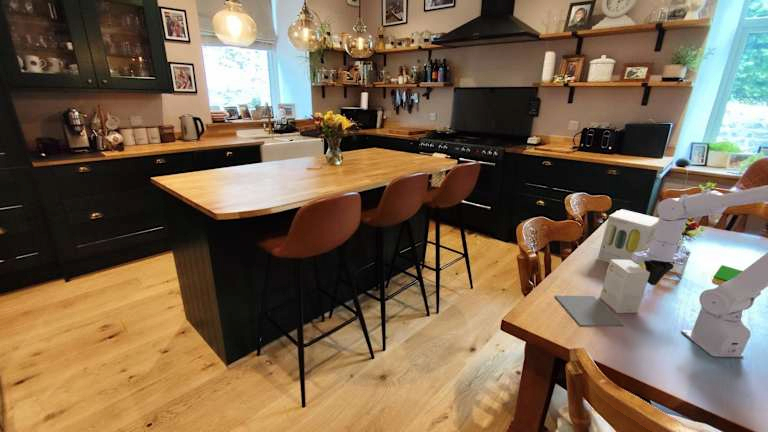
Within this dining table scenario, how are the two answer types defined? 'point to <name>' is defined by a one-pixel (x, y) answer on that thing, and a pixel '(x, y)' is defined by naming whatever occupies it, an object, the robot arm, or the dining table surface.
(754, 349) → the dining table surface
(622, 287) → the small box
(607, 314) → the slate rubber mat
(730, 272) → the dish sponge
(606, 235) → the supplement box
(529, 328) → the dining table surface
